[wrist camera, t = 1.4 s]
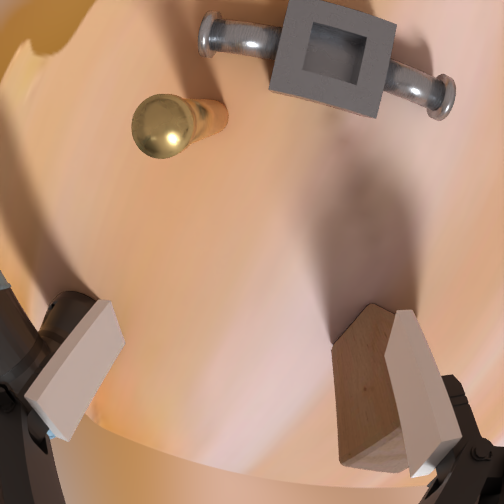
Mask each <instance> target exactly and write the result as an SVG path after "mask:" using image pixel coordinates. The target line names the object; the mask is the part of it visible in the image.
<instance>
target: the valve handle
mask: <svg viewBox="0 0 504 504" xmlns="http://www.w3.org/2000/svg"><path fill="white" fill-rule="evenodd" d="M228 118H229V115H228V111H227V109H226V107H225V106H224V105H223V104H222V103H221V102H219V101H217V100H210V99H185V98H181V97H179V96H177V95H172V94H157V95H154V96H151V97H149V98H147V99H146V100H144V101H143V102H142V103H141V104H140V105H139V106H138V108H137V109H136V111H135V113H134V116H133V119H132V135H133V139H134V141H135V143H136V145H137V146H138V147H139V149H140V150H141V151H142V152H144V153H145V154H146V155H148V156H150V157H153V158H158V159H165V158H170V157H172V156H175V155H177V154H179V153H181V152H182V151H184V150H185V149H186V148H187V147H188V146H189V145H190V144H192V143H194V142H197V141H199V140H202V139H204V138H207V137H209V136H212V135H214V134H217V133H219V132H221V131H222V130H223V129H224V128H225V127H226V125H227V123H228Z"/></svg>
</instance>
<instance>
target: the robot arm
mask: <svg viewBox="0 0 504 504" xmlns="http://www.w3.org/2000/svg"><path fill="white" fill-rule="evenodd" d="M10 287H11V285H10V284H9V283H8V282H7V281H6V279H5V277H4V276H3V274H2V272H1V270H0V504H66V503H65V500H64V496H63V493H62V489H61V486H60V482H59V478H58V474H57V471H56V466H55V462H54V457H53V452H52V448H51V443H50V439H52V438H55V437H58V438H60V439H63V440H65V441H68V442H69V441H70V439H71V437H72V435H73V433H74V431H75V429H76V428H77V426H78V424H79V422H80V420H81V419H82V417H83V415H84V413H85V411H86V410H87V408H88V406H89V404H90V403H91V401H92V399H93V397H94V396H95V394H96V392H97V390H98V389H99V387H100V385H101V383H102V382H103V380H104V378H105V377H106V375H107V373H108V371H109V370H110V368H111V366H112V365H113V363H114V361H115V360H116V358H117V356H118V355H119V353H120V351H121V350H122V348H123V346H124V345H125V340H124V338H123V335H122V332H121V329H120V327H119V324H118V321H117V318H116V315H115V312H114V309H113V306H112V303H111V301H109V300H100V299H98V300H97V302H96V301H94V300H93V299H91V298H89V297H88V296H86V295H84V294H81V293H78V292H73V291H66V292H62V293H60V294H59V295H58V296H57V297H56V298H55V299H54V300H53V301H52V302H51V304H50V305H49V307H48V310H47V312H46V315H45V317H44V320H43V322H42V325H41V328H40V330H39V331H38V332H37V330H36V329H35V327H34V326H33V324H32V323H31V321H30V320H29V318H28V316H27V315H26V313H25V312H24V310H23V308H22V307H21V305H20V303H19V302H18V300H17V298H16V296H15V295H14V293H13V291H12V289H11V288H10ZM384 357H385V360H386V364H387V368H388V372H389V376H390V380H391V384H392V388H393V392H394V396H395V400H396V405H397V409H398V413H399V418H400V423H401V428H402V432H403V437H404V443H405V448H406V453H407V459H408V465H409V471H410V477H411V478H414V477H419V476H424V475H429V474H430V473H431V472H432V471H433V470H434V469H435V468H436V472H437V476H436V477H435V478H434V479H433V480H432V481H431V482H430V483H429V484H428V485H427V487H429V489H428V490H427V492H426V494H425V495H424V497H423V498H422V500H421V501H420V503H419V504H504V447H497V446H493V445H492V443H491V442H490V441H489V440H487V439H486V438H482V437H481V435H480V432H479V429H478V427H477V424H476V421H475V418H474V415H473V413H472V410H471V407H470V405H469V404H468V400H467V397H466V396H465V392H464V390H463V387H462V385H461V383H460V382H459V381H458V380H457V379H456V378H455V376H454V375H453V374H452V375H445V376H441V375H440V372H439V370H438V367H437V365H436V362H435V360H434V357H433V355H432V352H431V350H430V348H429V345H428V343H427V341H426V338H425V336H424V334H423V332H422V329H421V327H420V325H419V323H418V320H417V318H416V316H415V314H414V312H413V310H397V311H396V315H395V319H394V323H393V327H392V330H391V334H390V338H389V341H388V345H387V348H386V351H385V355H384Z"/></svg>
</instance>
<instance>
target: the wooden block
mask: <svg viewBox="0 0 504 504" xmlns="http://www.w3.org/2000/svg"><path fill="white" fill-rule="evenodd" d="M394 319H395V314H393V313H391V312H389V311H387V310H385V309H383V308H381V307H379V306H377V305H375V304H369V305H367V307H366V308H365V309H364V310H363V311H362V313H361V314H360V315H359V316H358V317H357V318H356V320H355V321H354V322H353V323H352V324H351V325H350V327H349V328H348V329H347V330H346V331H345V332H344V333H343V335H342V336H341V337H340V338H339V339H338V340H337V341H336V342H335V343H334V345H333V347H332V350H331V353H332V363H333V374H334V385H335V398H336V412H337V428H338V447H339V461H340V463H341V464H342V465H343V466H346V467H352V468H358V469H364V470H371V471H379V472H387V473H399V472H401V471H403V470H405V469H407V468H408V467H409V465H408V459H407V453H406V448H405V443H404V437H403V432H402V428H401V423H400V418H399V413H398V409H397V405H396V400H395V396H394V392H393V388H392V384H391V380H390V376H389V372H388V368H387V364H386V360H385V357H384V355H385V351H386V348H387V345H388V341H389V338H390V334H391V330H392V327H393V323H394Z"/></svg>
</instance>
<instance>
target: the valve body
mask: <svg viewBox="0 0 504 504" xmlns="http://www.w3.org/2000/svg"><path fill="white" fill-rule="evenodd" d="M396 27H397V24H394V23H391V22H389V21H386V20H383V19H381V18H378V17H375V16H372V15H369V14H366V13H363V12H360V11H357V10H354V9H350V8H347V7H344V6H340V5H336V4H333V3H329V2H325V1H321V0H289V3H288V7H287V12H286V16H285V20H284V24H283V28H281V27H276V26H270V25H264V24H258V23H251V22H244V21H236V20H227V19H222V16H221V13H220V12H218V11H208V12H207V13H206V14H205V16H204V18H203V20H202V22H201V26H200V30H199V35H198V51H199V54H200V56H201V57H205V58H212V57H213V56H214V55H215V53H216V51H217V52H226V53H233V54H240V55H246V56H253V57H258V58H264V59H269V60H275V63H274V68H273V72H272V76H271V81H270V85H269V90H270V91H271V92H273V93H278V94H282V95H287V96H291V97H296V98H300V99H304V100H308V101H312V102H315V103H319V104H323V105H327V106H330V107H334V108H337V109H341V110H344V111H347V112H350V113H354V114H357V115H360V116H363V117H369V118H375V119H376V117H377V113H378V109H379V105H380V101H381V97H382V93H383V91H385V92H388V93H391V94H393V95H396V96H399V97H401V98H404V99H406V100H409V101H411V102H414V103H416V104H418V105H421V106H423V107H425V108H427V113H428V115H429V117H431V118H433V119H435V120H437V121H441V120H443V119H445V118H446V117H447V115H448V114H449V113H450V111H451V109H452V107H453V104H454V101H455V96H456V86H455V82H454V80H453V79H452V78H451V77H449V76H447V75H445V74H441V75H439V76H437V77H436V78H435V77H433V76H431V75H429V74H427V73H424V72H422V71H420V70H418V69H415V68H413V67H411V66H408V65H406V64H403V63H401V62H398V61H396V60H393V59H391V58H390V57H391V52H392V47H393V42H394V37H395V32H396Z"/></svg>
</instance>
